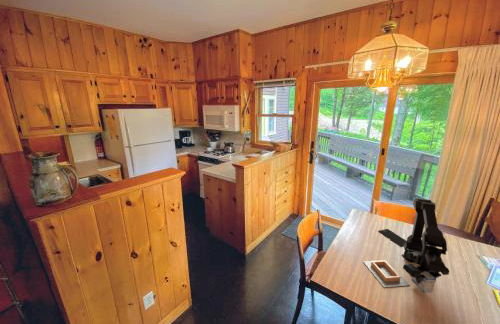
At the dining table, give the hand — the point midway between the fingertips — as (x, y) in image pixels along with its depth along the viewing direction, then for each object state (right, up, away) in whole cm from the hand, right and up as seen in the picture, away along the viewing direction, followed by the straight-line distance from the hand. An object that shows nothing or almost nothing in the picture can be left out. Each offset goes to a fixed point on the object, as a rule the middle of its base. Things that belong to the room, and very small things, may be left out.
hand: (422, 282), depth 102 cm
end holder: (-11, -2, +12) cm, 16 cm away
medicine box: (0, -2, +1) cm, 2 cm away
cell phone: (+15, +7, +42) cm, 45 cm away
